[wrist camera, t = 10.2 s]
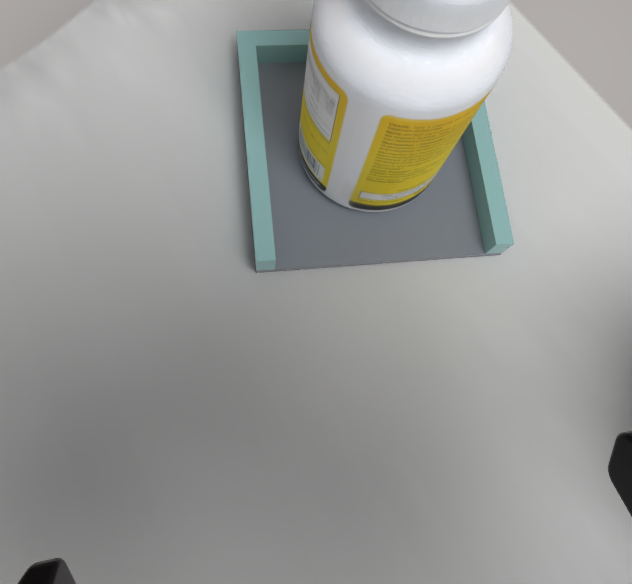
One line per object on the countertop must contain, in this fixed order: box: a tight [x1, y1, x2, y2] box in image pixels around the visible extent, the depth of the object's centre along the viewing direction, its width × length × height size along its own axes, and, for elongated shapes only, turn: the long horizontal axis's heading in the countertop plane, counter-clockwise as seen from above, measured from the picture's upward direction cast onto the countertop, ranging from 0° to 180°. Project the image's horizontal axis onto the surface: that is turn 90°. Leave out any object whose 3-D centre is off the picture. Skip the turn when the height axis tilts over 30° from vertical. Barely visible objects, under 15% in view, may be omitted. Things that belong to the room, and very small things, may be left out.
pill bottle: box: [298, 0, 513, 212], centre depth 20 cm, size 6×6×12 cm
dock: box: [237, 30, 514, 273], centre depth 25 cm, size 11×11×2 cm
